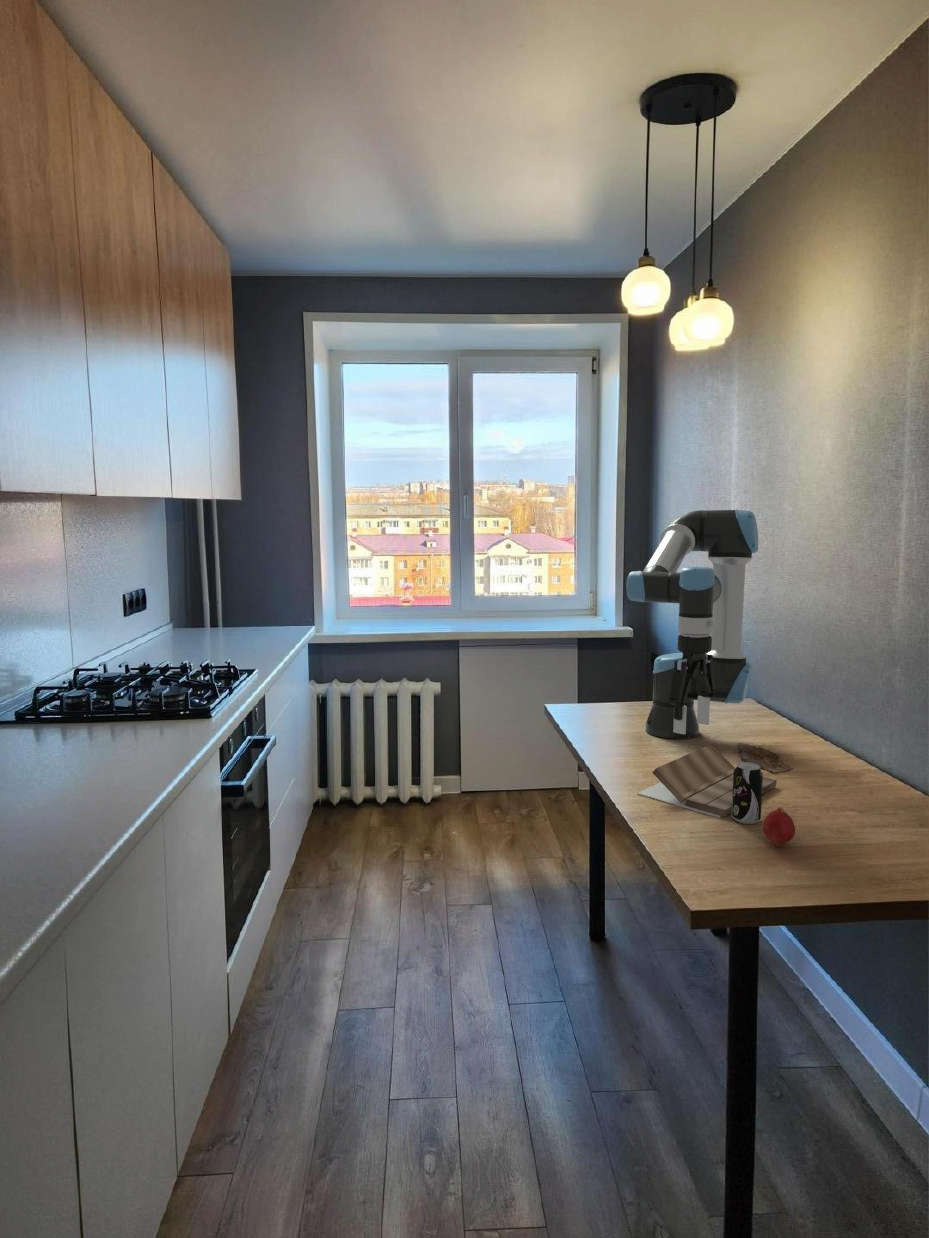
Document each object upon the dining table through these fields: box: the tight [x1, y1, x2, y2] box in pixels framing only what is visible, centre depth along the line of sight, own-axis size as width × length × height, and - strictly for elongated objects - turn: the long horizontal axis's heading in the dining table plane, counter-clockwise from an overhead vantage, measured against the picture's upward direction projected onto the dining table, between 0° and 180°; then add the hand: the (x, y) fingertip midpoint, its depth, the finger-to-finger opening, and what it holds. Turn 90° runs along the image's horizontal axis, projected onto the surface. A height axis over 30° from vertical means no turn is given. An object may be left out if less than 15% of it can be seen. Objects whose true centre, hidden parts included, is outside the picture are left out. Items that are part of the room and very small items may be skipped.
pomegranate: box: [761, 806, 796, 848], centre depth 148 cm, size 6×6×8 cm
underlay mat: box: [636, 781, 723, 819], centre depth 179 cm, size 27×20×1 cm
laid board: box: [686, 775, 778, 818], centre depth 174 cm, size 26×9×2 cm, turn 135°
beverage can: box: [731, 761, 764, 825], centre depth 160 cm, size 6×6×12 cm
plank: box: [651, 744, 736, 803], centre depth 180 cm, size 26×9×2 cm
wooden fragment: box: [738, 742, 794, 775], centre depth 203 cm, size 26×11×1 cm, turn 177°
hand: (691, 728), depth 180 cm, fingers open, 10 cm apart
